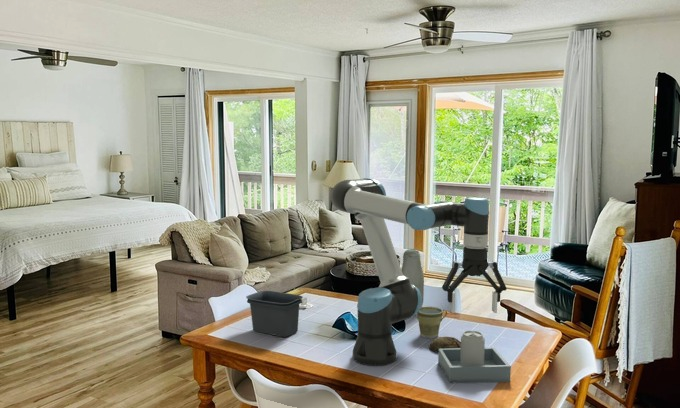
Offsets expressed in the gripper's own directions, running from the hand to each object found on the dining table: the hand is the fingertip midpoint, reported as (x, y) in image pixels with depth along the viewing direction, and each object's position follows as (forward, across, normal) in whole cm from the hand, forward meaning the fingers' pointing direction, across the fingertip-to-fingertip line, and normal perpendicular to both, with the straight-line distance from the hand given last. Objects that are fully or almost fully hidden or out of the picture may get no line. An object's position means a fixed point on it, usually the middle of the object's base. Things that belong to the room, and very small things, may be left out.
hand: (473, 311), depth 177 cm
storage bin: (+21, -66, +44) cm, 82 cm away
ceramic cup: (+20, -5, +36) cm, 41 cm away
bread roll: (+21, -2, +20) cm, 29 cm away
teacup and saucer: (+22, -59, +76) cm, 99 cm away
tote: (+20, 0, 0) cm, 20 cm away
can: (+19, 0, 0) cm, 19 cm away
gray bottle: (+21, -8, +66) cm, 70 cm away
